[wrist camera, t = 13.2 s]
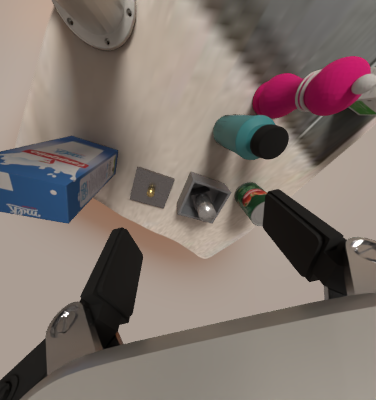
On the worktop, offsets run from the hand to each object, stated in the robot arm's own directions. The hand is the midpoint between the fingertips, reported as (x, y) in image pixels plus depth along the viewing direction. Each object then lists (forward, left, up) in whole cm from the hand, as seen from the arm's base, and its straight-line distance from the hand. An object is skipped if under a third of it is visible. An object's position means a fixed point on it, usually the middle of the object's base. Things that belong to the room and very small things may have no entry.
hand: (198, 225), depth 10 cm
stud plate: (-3, -14, -30) cm, 33 cm away
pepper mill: (+15, +16, -30) cm, 37 cm away
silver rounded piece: (+11, -11, -29) cm, 33 cm away
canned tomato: (+25, -6, -30) cm, 40 cm away
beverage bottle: (+9, +7, -30) cm, 32 cm away
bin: (+11, -11, -30) cm, 34 cm away
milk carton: (-18, -10, -30) cm, 37 cm away
